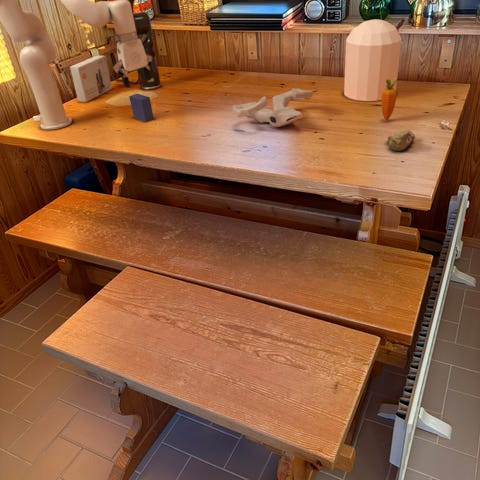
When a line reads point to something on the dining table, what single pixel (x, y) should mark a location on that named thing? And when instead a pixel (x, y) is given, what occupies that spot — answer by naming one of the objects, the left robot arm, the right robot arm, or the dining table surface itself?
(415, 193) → the dining table surface
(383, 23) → the container
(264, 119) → the white branched piece
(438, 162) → the dining table surface
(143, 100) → the block
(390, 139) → the rock
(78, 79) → the skincare box
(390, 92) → the carrot
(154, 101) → the dining table surface
